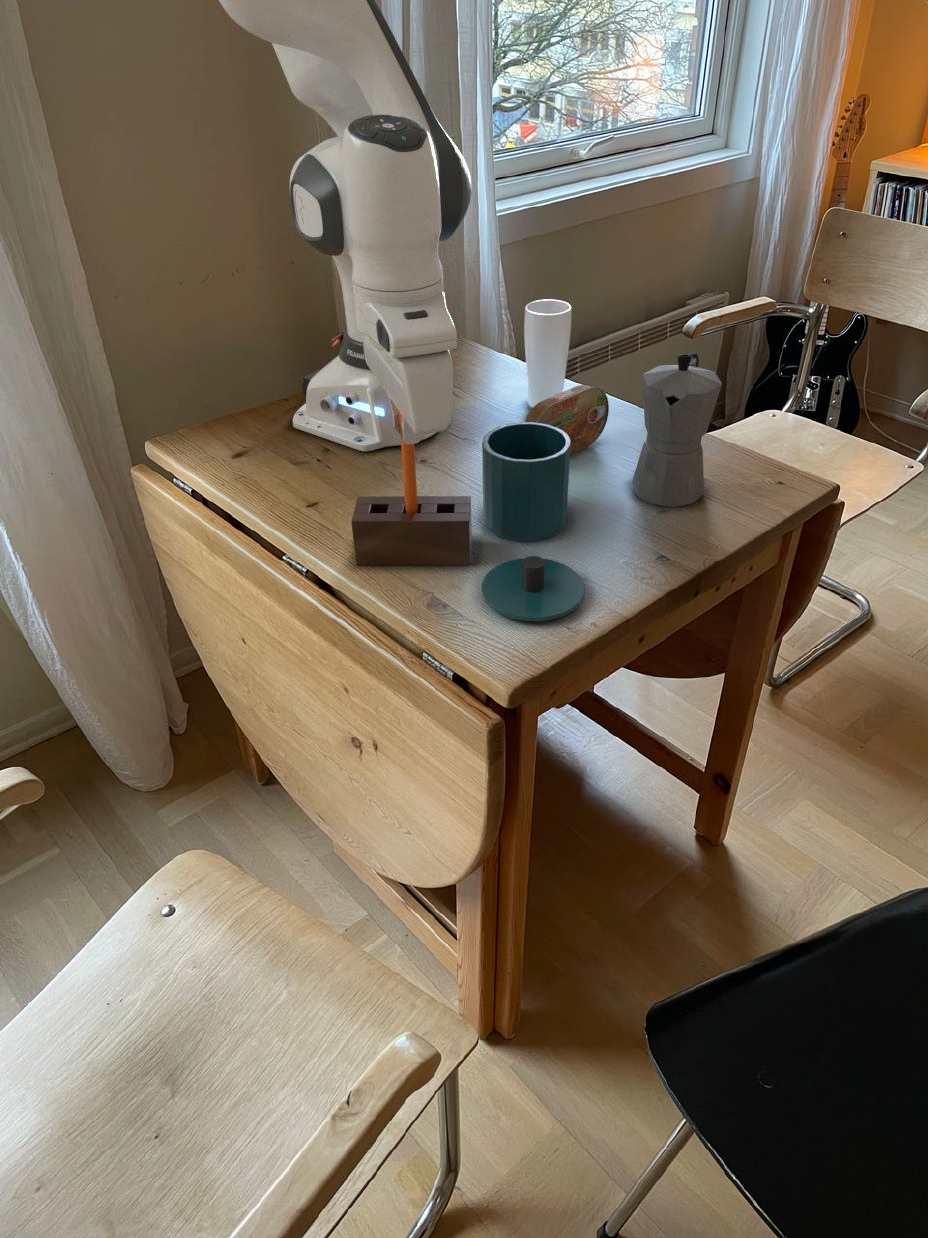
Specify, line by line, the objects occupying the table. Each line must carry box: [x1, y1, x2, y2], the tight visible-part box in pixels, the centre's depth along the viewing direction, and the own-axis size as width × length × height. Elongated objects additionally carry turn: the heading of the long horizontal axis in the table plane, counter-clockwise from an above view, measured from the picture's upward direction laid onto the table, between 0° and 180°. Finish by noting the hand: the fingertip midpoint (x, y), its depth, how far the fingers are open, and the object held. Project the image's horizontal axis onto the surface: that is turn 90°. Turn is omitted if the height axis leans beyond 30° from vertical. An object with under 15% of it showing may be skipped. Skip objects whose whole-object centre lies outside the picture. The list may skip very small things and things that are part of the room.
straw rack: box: [351, 495, 473, 567], centre depth 103 cm, size 6×13×6 cm, turn 88°
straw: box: [399, 411, 418, 513], centre depth 99 cm, size 1×1×18 cm
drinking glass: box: [523, 299, 572, 409], centre depth 132 cm, size 7×7×15 cm
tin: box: [523, 384, 610, 456], centre depth 122 cm, size 15×3×8 cm, turn 131°
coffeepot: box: [631, 352, 723, 508], centre depth 110 cm, size 15×9×18 cm, turn 159°
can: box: [481, 421, 571, 542], centre depth 107 cm, size 10×10×11 cm
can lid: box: [481, 555, 586, 622], centre depth 96 cm, size 11×11×4 cm
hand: (407, 435), depth 96 cm, fingers closed on straw, 1 cm apart
